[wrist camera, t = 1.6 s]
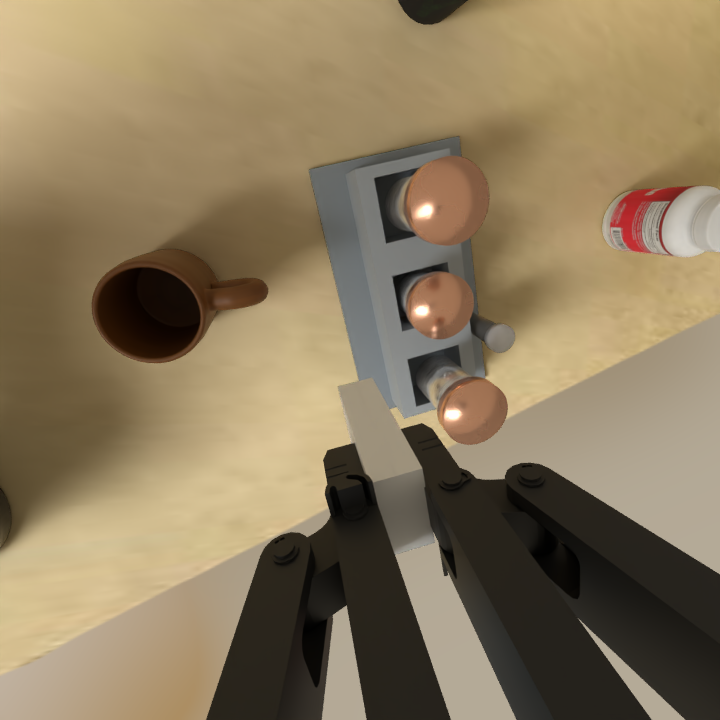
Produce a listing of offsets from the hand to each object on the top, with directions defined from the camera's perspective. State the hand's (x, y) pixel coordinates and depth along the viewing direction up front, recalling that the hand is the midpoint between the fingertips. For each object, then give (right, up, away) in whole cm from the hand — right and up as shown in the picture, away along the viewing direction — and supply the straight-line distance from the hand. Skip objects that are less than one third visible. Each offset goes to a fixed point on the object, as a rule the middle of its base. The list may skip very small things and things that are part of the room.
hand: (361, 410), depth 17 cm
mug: (-14, +9, +20) cm, 26 cm away
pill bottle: (+28, +17, +27) cm, 43 cm away
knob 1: (+4, +15, +17) cm, 23 cm away
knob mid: (+5, +9, +23) cm, 25 cm away
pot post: (+12, +6, +26) cm, 29 cm away
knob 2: (+7, +1, +23) cm, 24 cm away
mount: (+5, +9, +24) cm, 26 cm away
